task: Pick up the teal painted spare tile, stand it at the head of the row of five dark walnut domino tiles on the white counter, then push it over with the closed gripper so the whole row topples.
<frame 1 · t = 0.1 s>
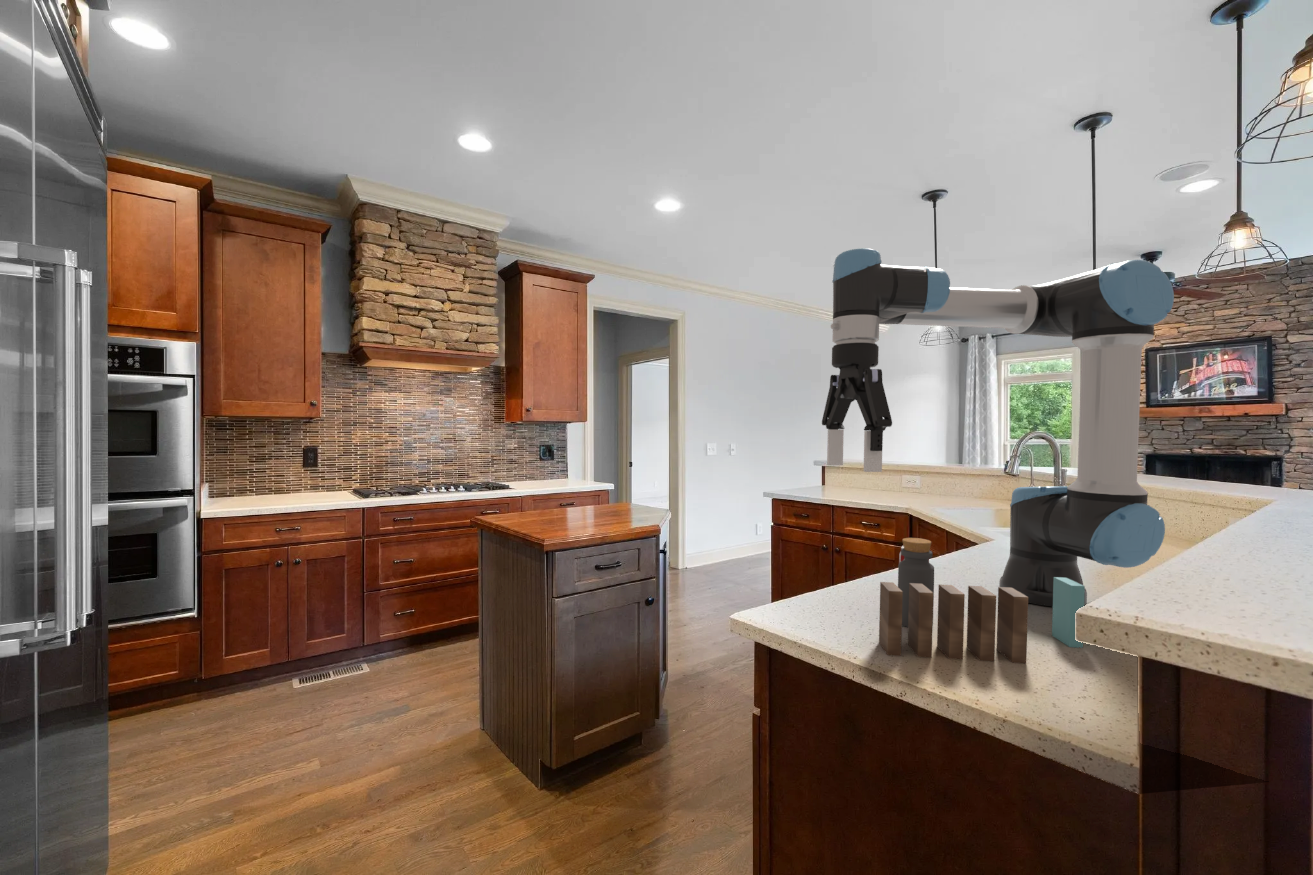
hand: (852, 468, 98), 28 cm above the worktop, fingers open, 13 cm apart
spare tile: (1066, 641, 95), on the worktop
soda can: (912, 611, 110), on the worktop
bottle: (914, 624, 102), on the worktop
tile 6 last: (889, 649, 91), on the worktop
tile 2: (1010, 656, 88), on the worktop
tile 3: (980, 654, 89), on the worktop
tile 5: (919, 650, 90), on the worktop
tile 4: (949, 652, 90), on the worktop
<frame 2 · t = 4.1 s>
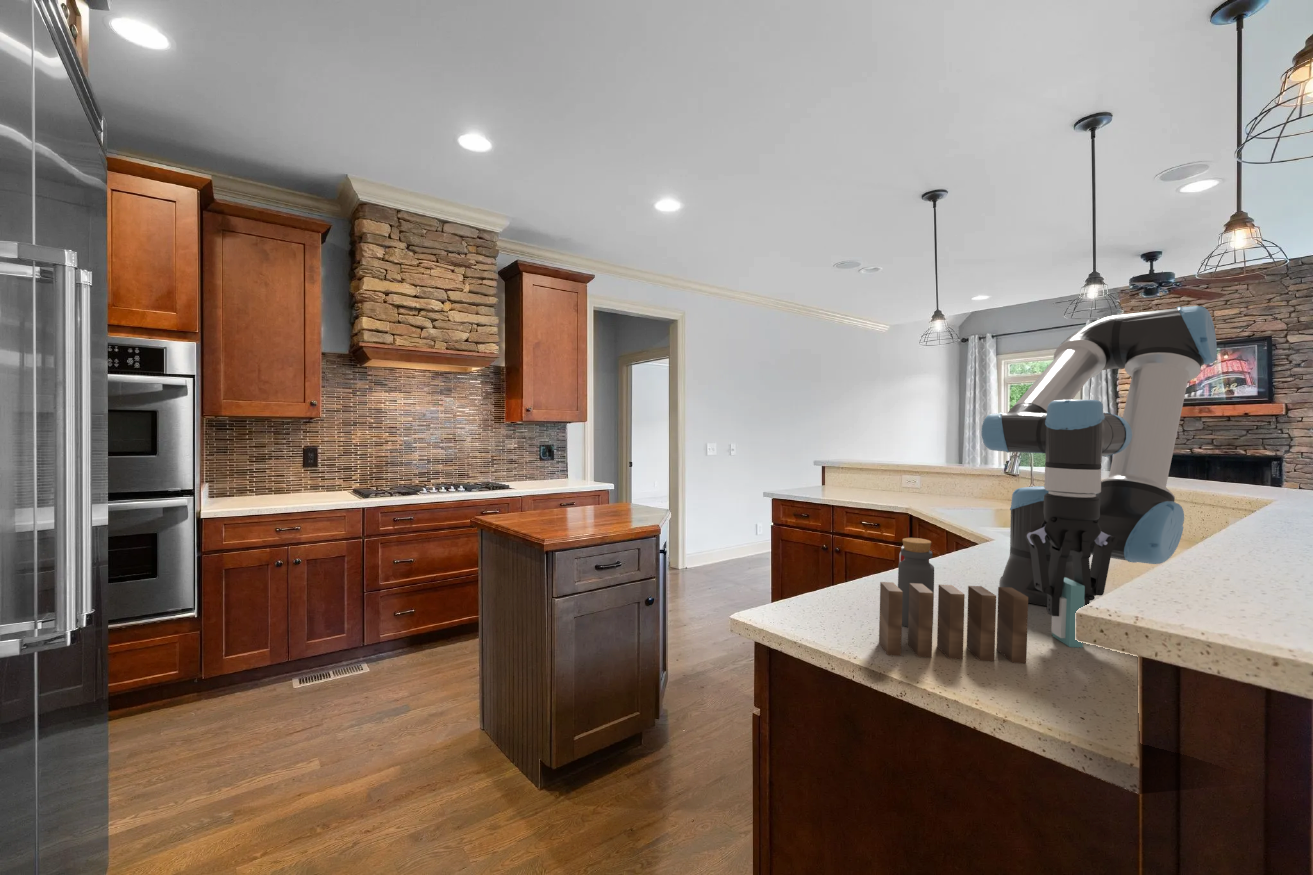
hand: (1067, 635, 95), 1 cm above the worktop, fingers closed on spare tile, 2 cm apart
spare tile: (1066, 641, 95), on the worktop, touching gripper
everything else where it was.
when the fingers open (2 cm above the worktop, at t = 8.4 s): spare tile drops 1 cm, on the worktop.
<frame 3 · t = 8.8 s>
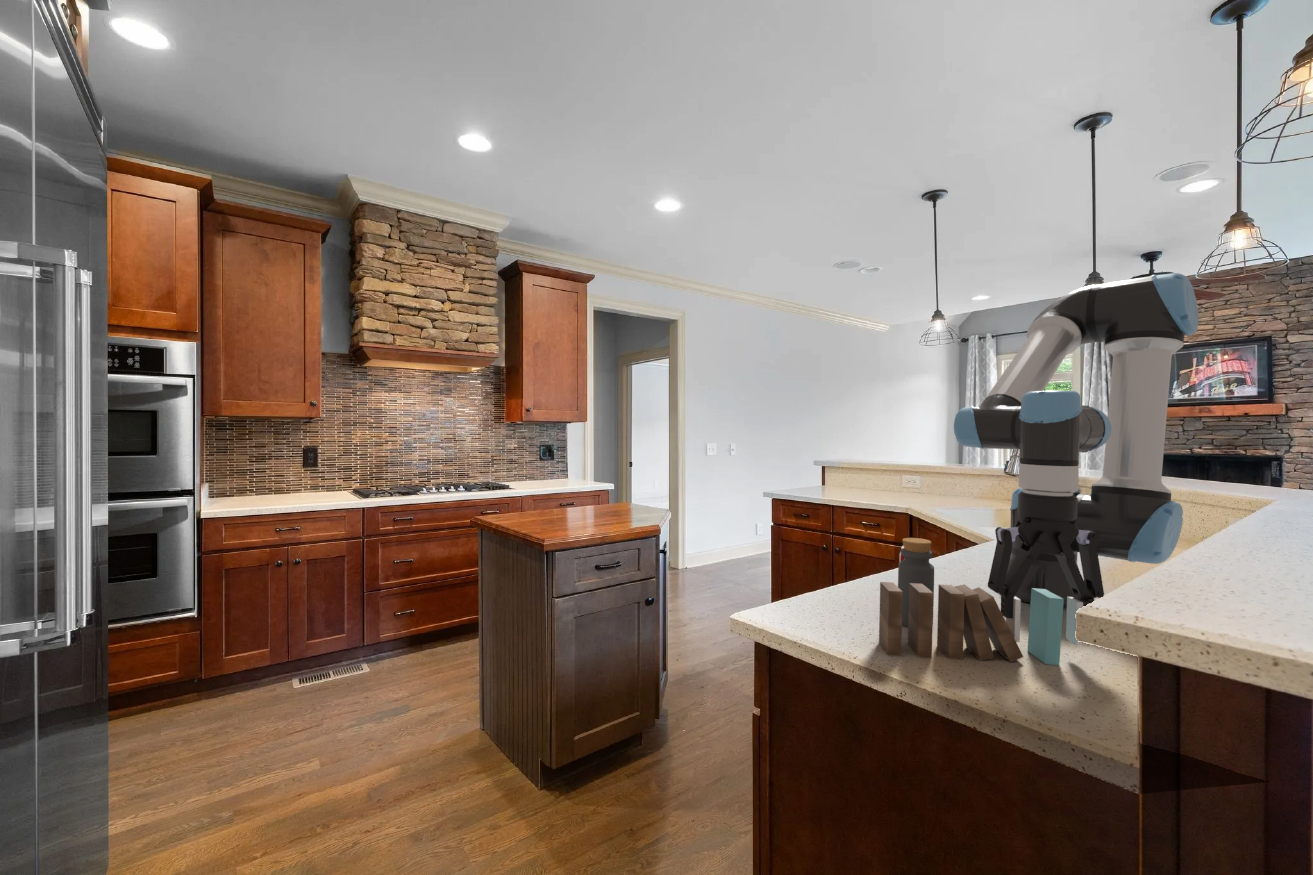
hand: (1042, 639, 88), 3 cm above the worktop, fingers open, 8 cm apart
spare tile: (1042, 657, 88), on the worktop
tile 2: (1008, 652, 88), on the worktop, tilted 27°
tile 3: (979, 652, 89), on the worktop, tilted 15°, touching tile 4
tile 4: (949, 652, 90), on the worktop, touching tile 3
everything else where it was.
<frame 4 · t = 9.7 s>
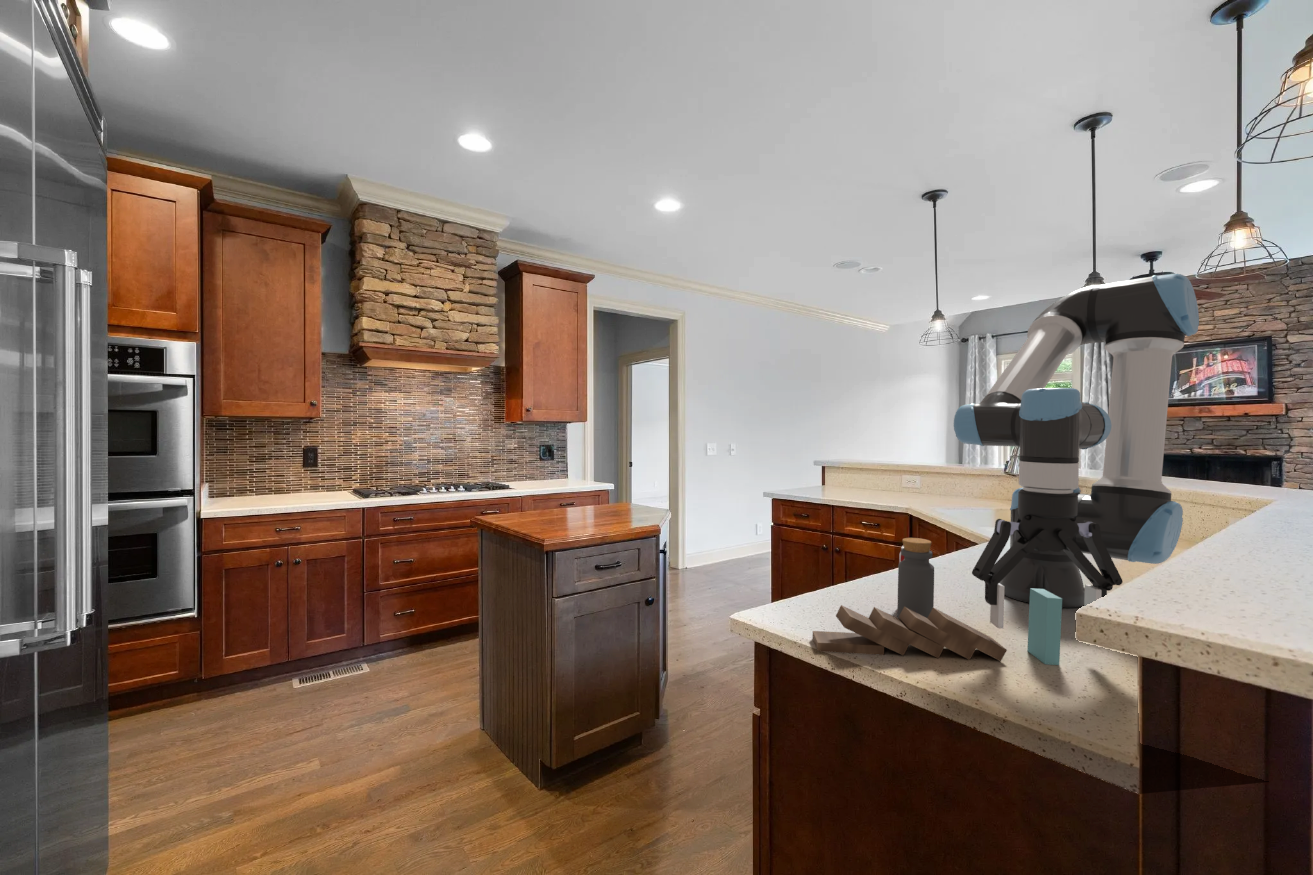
hand: (1043, 627, 88), 5 cm above the worktop, fingers open, 13 cm apart
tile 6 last: (879, 645, 91), on the worktop, tilted 90°, touching tile 5
tile 2: (995, 649, 89), point 1 cm above the worktop, tilted 64°, touching tile 3
tile 3: (965, 647, 89), point 1 cm above the worktop, tilted 64°, touching tile 2, tile 4
tile 5: (900, 643, 90), point 1 cm above the worktop, tilted 66°, touching tile 4, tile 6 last
tile 4: (935, 646, 90), point 1 cm above the worktop, tilted 66°, touching tile 3, tile 5
everything else where it was.
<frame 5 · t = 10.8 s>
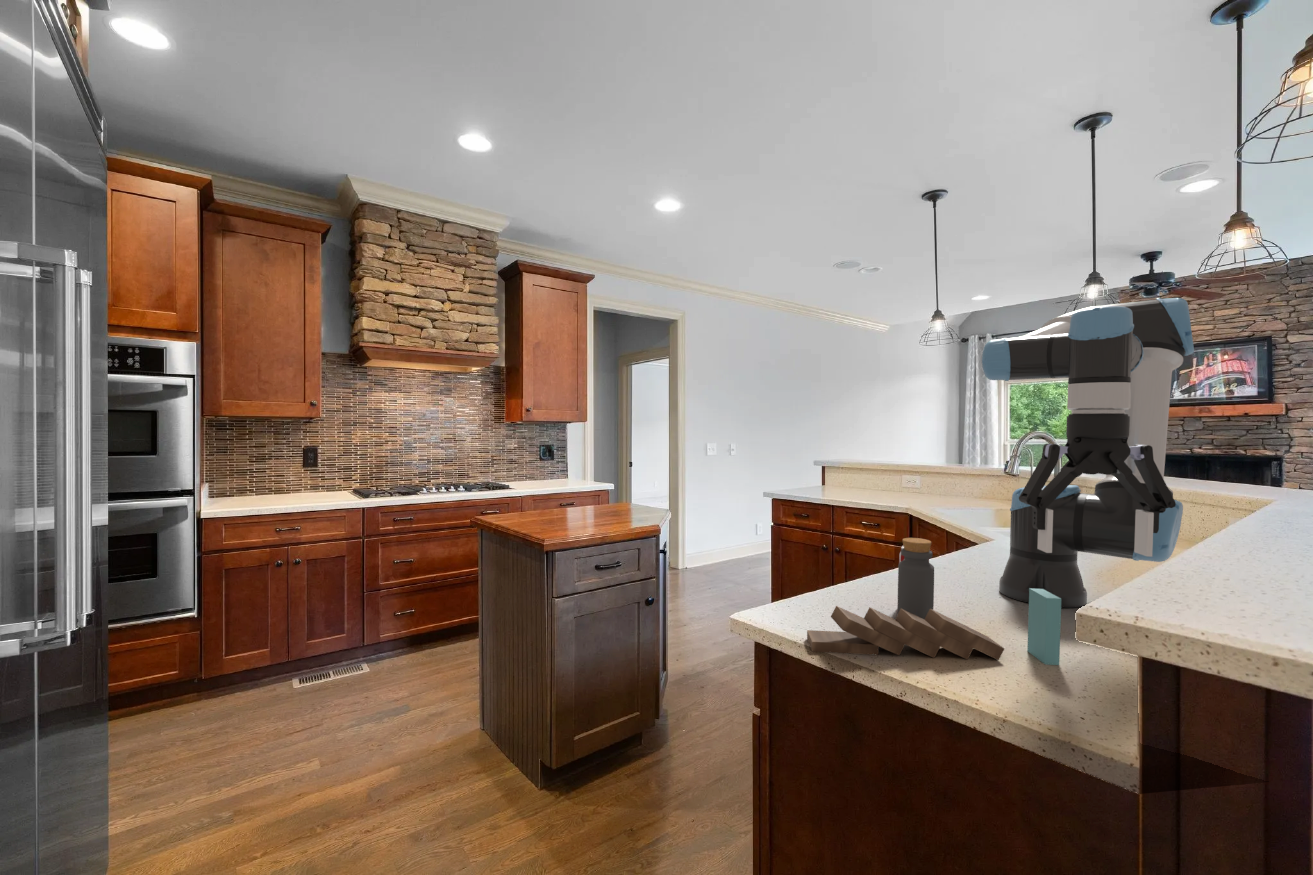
hand: (1093, 552, 87), 16 cm above the worktop, fingers open, 13 cm apart
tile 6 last: (873, 644, 91), point 1 cm above the worktop, tilted 90°
tile 3: (962, 647, 89), point 1 cm above the worktop, tilted 65°, touching tile 2
tile 5: (894, 642, 90), point 1 cm above the worktop, tilted 66°, touching tile 4
tile 4: (930, 645, 90), point 1 cm above the worktop, tilted 65°, touching tile 5
everything else where it was.
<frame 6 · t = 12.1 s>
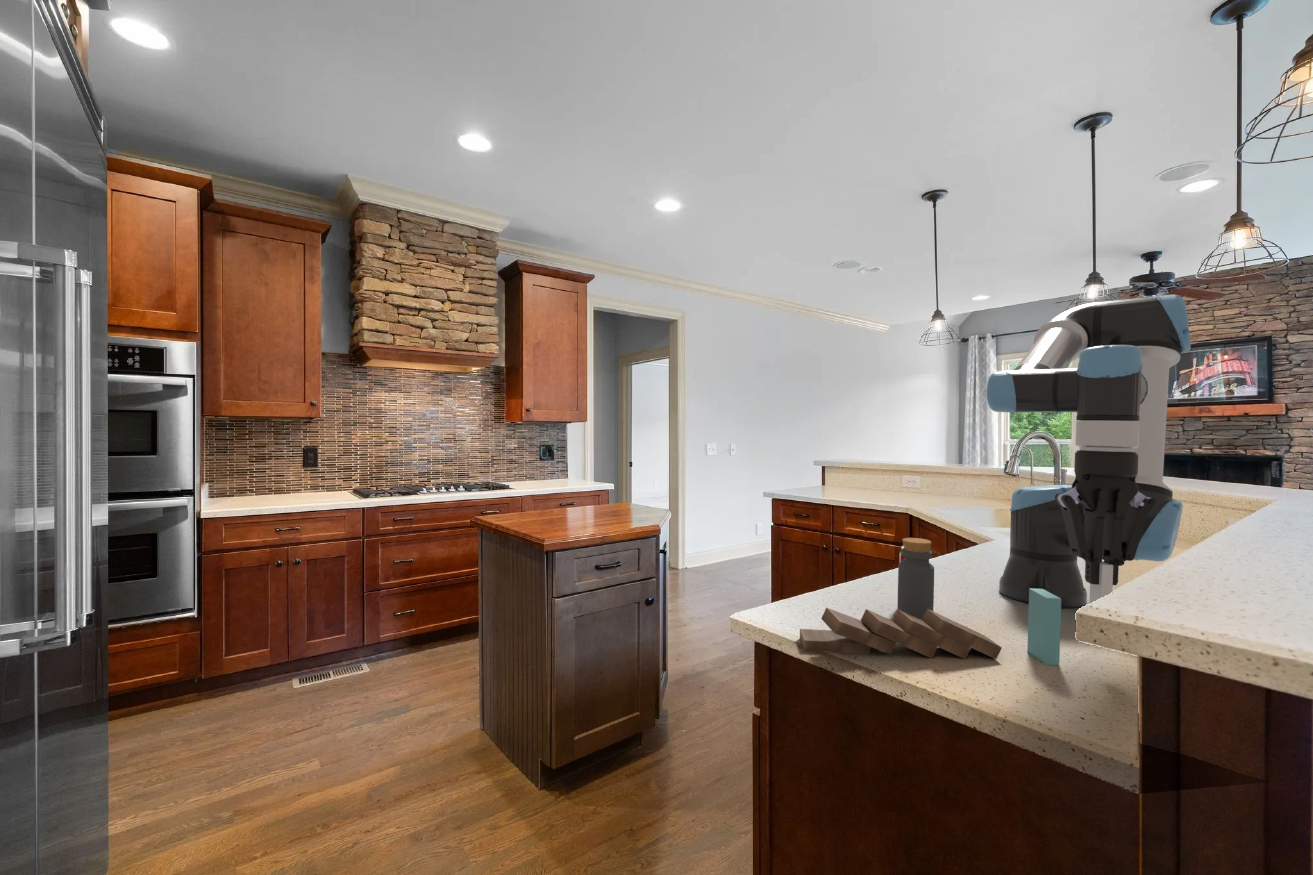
hand: (1100, 605, 86), 9 cm above the worktop, fingers closed
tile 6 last: (866, 643, 91), point 1 cm above the worktop, tilted 90°, touching tile 5
tile 5: (885, 640, 90), point 2 cm above the worktop, tilted 68°, touching tile 4, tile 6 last
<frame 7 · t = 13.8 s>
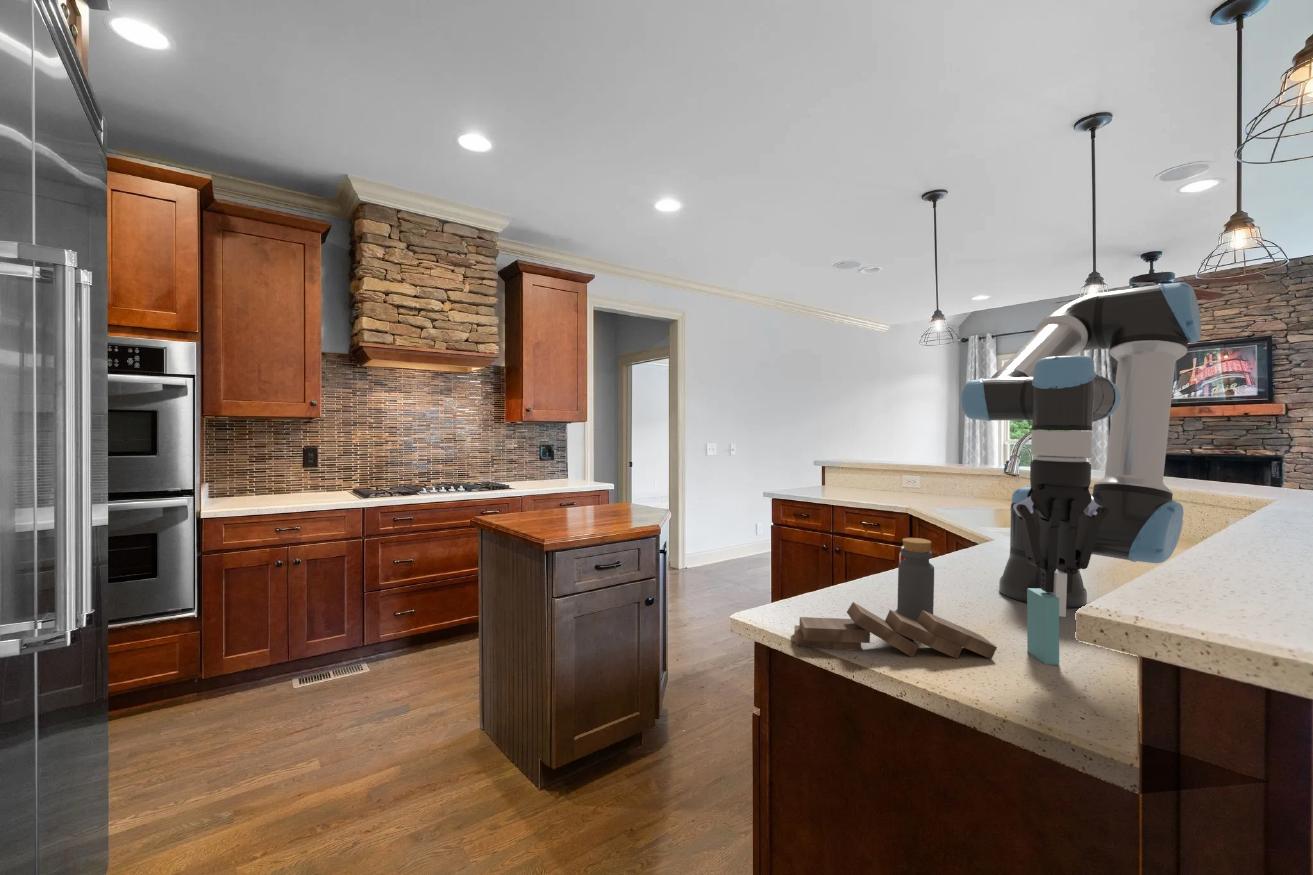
hand: (1055, 613, 87), 7 cm above the worktop, fingers closed
spare tile: (1042, 657, 88), on the worktop, touching gripper
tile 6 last: (858, 642, 92), on the worktop, tilted 90°, touching tile 5
tile 3: (952, 646, 90), point 1 cm above the worktop, tilted 68°, touching tile 2, tile 4
tile 5: (865, 630, 92), point 2 cm above the worktop, tilted 90°, touching tile 4, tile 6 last
tile 4: (909, 645, 90), point 1 cm above the worktop, tilted 60°, touching tile 3, tile 5
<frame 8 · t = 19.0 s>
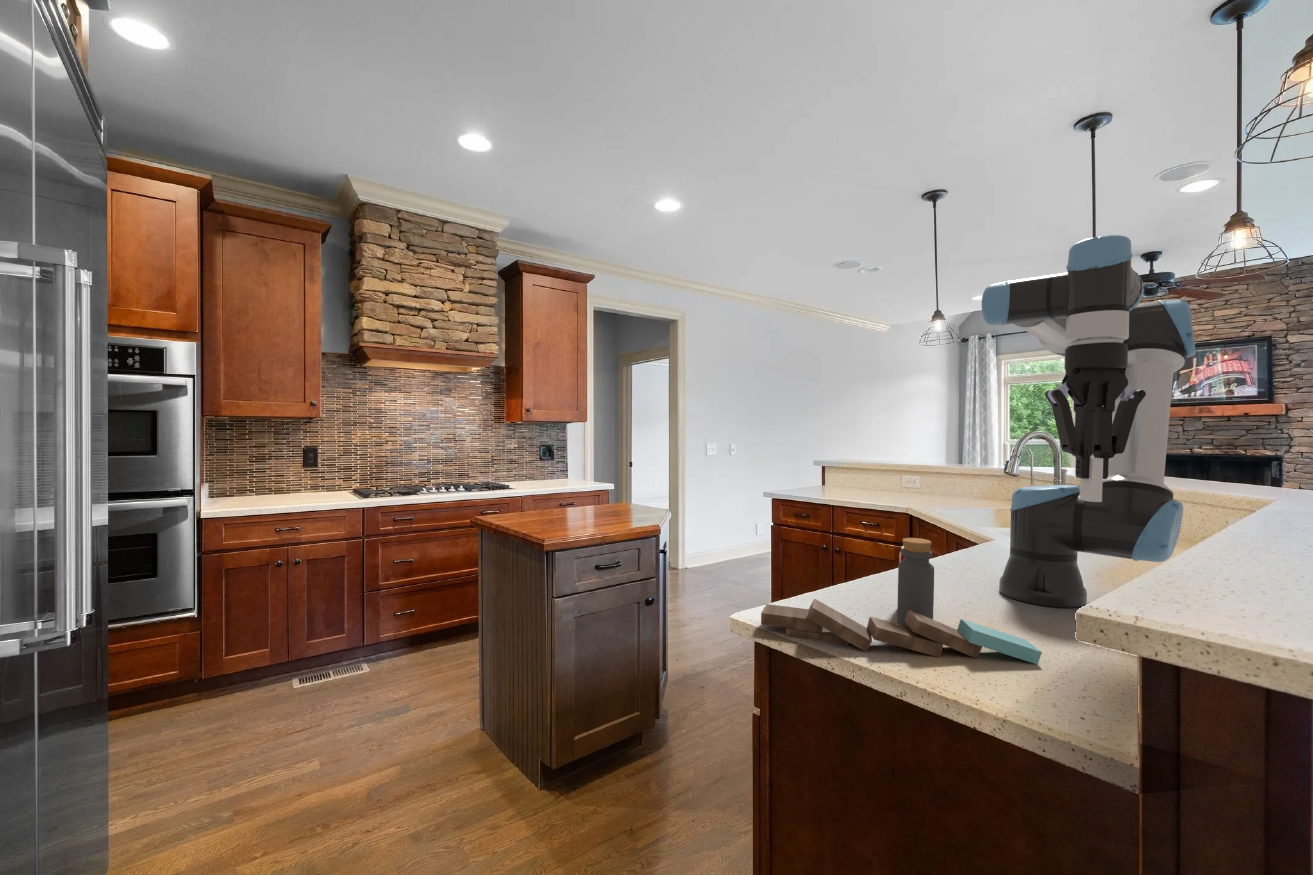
hand: (1090, 500, 87), 24 cm above the worktop, fingers closed
spare tile: (1031, 651, 88), point 1 cm above the worktop, tilted 74°, touching tile 2
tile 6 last: (849, 637, 95), on the worktop, tilted 90°, touching tile 5
tile 2: (973, 646, 90), point 1 cm above the worktop, tilted 69°, touching spare tile, tile 3
tile 3: (936, 644, 90), point 1 cm above the worktop, tilted 78°, touching tile 2, tile 4
tile 5: (823, 621, 96), point 2 cm above the worktop, tilted 90°, touching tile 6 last
tile 4: (868, 640, 92), point 1 cm above the worktop, tilted 65°, touching tile 3
everything else where it was.
at the end: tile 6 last tilted 90°; spare tile tilted 74°; spare tile inside the target area (0.4 cm from its centre), point 0.9 cm above the worktop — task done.
